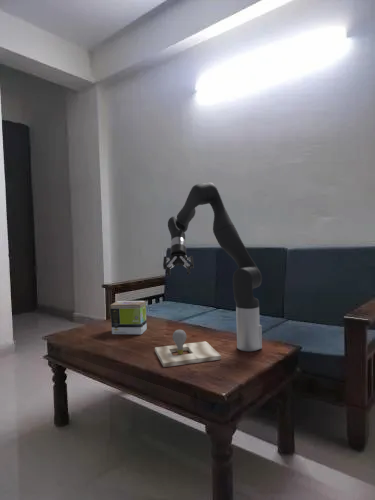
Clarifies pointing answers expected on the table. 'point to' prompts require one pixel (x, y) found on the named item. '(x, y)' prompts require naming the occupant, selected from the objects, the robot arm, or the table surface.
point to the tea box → (128, 317)
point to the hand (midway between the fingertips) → (178, 275)
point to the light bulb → (179, 340)
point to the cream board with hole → (197, 350)
